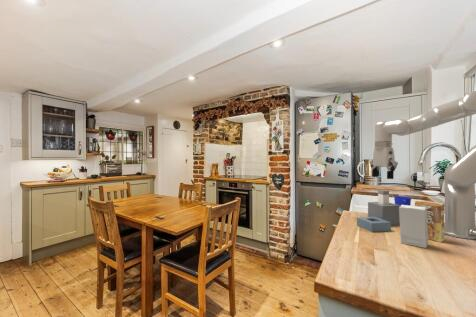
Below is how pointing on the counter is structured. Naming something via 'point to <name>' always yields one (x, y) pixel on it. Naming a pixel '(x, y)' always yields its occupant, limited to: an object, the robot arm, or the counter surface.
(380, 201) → the plug
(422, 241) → the skincare box
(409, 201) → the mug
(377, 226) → the low socket block
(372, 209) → the raised socket block
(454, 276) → the counter surface
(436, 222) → the candy box
